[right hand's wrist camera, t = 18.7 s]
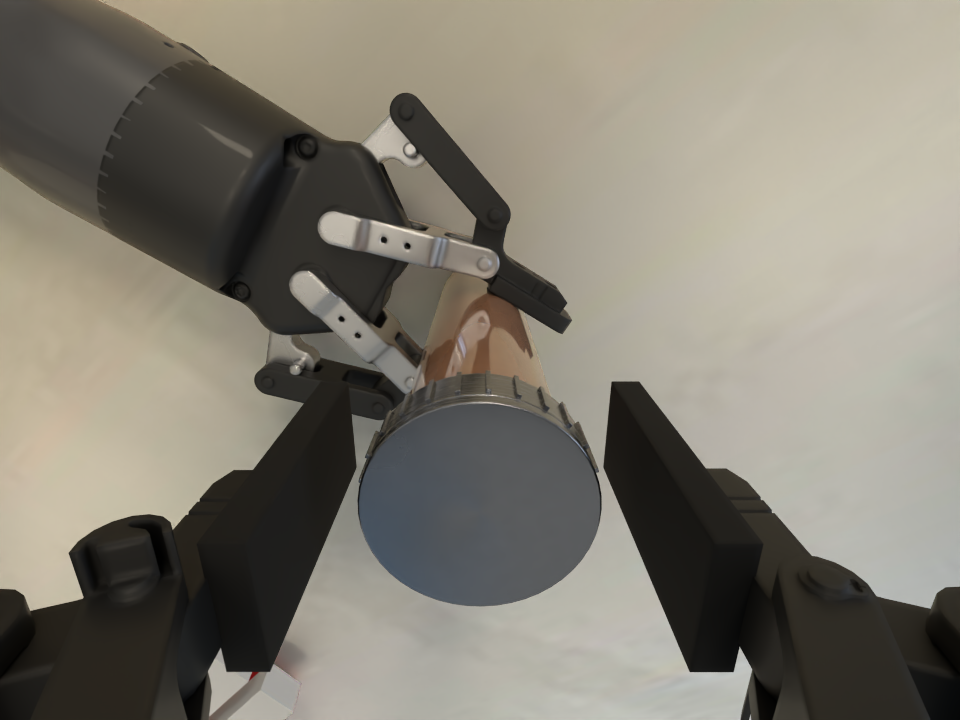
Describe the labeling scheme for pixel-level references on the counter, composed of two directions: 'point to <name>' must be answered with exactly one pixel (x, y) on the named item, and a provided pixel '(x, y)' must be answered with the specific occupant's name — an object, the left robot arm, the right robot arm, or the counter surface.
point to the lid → (479, 491)
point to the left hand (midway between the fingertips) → (531, 366)
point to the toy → (251, 693)
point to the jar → (477, 337)
